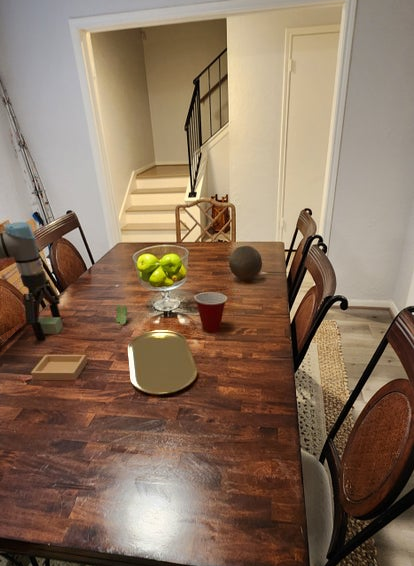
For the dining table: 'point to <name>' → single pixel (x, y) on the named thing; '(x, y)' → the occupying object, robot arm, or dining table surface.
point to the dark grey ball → (245, 262)
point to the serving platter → (161, 362)
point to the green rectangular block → (51, 324)
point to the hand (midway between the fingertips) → (49, 330)
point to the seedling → (121, 314)
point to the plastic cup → (210, 310)
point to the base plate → (59, 367)
